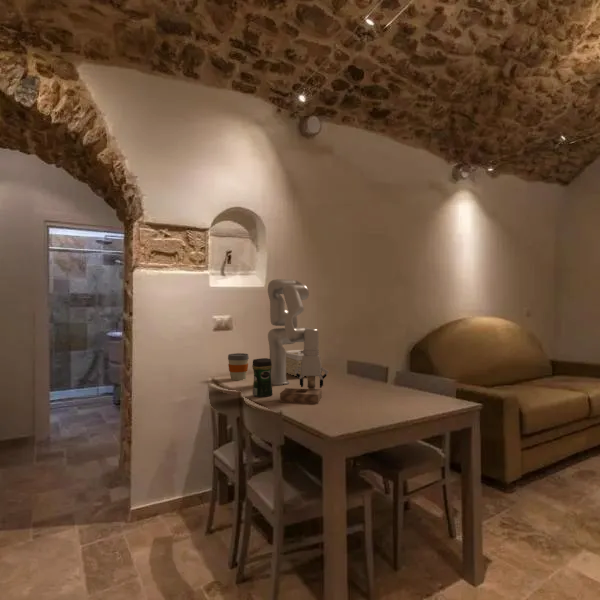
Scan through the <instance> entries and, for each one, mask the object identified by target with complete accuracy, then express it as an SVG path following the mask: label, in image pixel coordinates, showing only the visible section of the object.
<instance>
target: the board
mask: <svg viewBox="0 0 600 600" xmlns="http://www.w3.org/2000/svg"><path fill="white" fill-rule="evenodd" d="M322 391H323V390H322V389H321V388H320V389H319V388H315V389H308V388H293V387H291V388H290V387H285V388H284V389H283V390H281V392H280V393H279V402H280V403H296V404H297V403H299V404H300V403H301V404H319V403H320V401H321V400H320V399H322V398H323V397H322V394H323V393H322Z"/></svg>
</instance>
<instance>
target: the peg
mask: <svg viewBox="0 0 600 600" xmlns="http://www.w3.org/2000/svg"><path fill="white" fill-rule="evenodd" d="M307 389H316V376H308V377H307Z"/></svg>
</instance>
